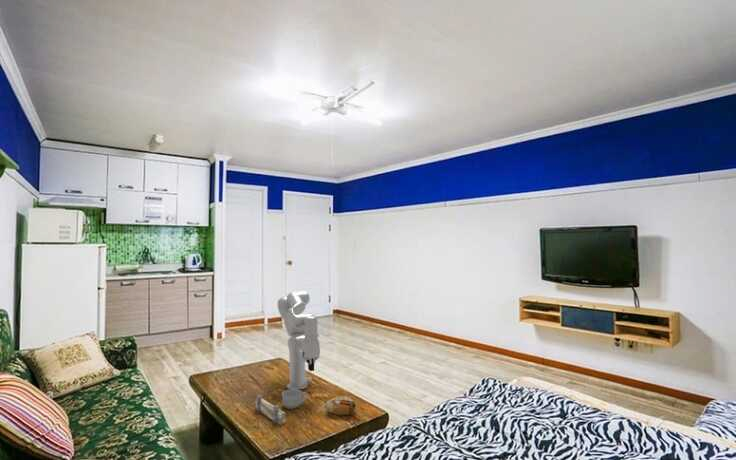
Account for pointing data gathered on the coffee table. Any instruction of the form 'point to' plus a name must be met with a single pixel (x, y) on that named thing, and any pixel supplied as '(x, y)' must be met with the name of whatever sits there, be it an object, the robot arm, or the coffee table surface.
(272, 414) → the bar
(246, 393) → the coffee table surface
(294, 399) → the teacup
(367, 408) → the coffee table surface
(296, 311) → the robot arm
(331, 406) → the nautilus
